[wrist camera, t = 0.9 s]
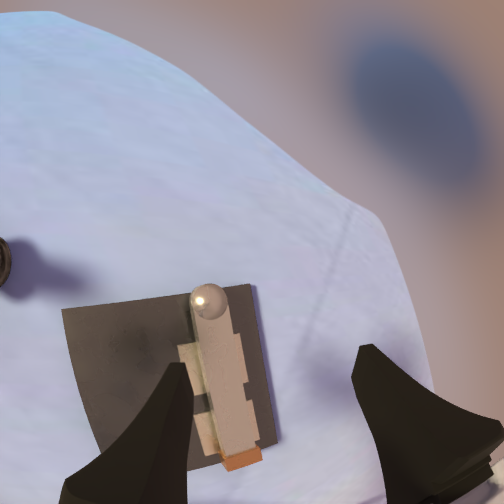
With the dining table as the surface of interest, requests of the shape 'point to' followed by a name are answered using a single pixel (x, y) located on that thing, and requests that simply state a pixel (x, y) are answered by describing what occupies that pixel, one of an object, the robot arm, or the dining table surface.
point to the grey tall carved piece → (4, 261)
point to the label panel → (160, 365)
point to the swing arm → (222, 376)
